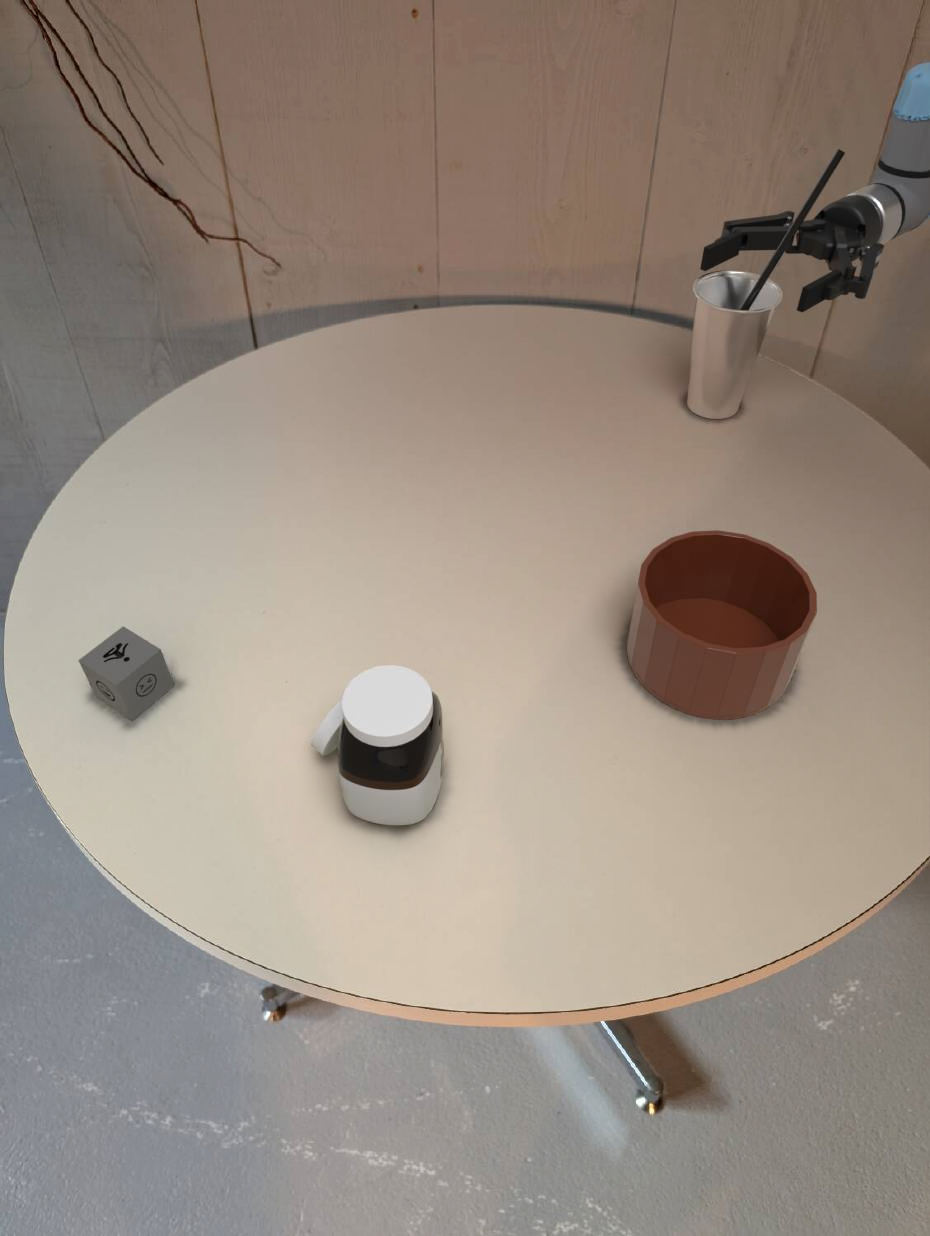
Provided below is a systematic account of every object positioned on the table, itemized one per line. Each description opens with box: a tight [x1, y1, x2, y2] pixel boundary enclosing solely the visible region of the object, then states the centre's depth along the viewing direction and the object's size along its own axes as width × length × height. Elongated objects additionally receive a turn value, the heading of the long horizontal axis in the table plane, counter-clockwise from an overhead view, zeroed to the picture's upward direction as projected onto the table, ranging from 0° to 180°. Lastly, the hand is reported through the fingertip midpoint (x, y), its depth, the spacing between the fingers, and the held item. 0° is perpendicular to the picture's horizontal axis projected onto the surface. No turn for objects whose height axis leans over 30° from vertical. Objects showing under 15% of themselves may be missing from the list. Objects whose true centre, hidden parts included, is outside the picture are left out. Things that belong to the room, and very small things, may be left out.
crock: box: [626, 529, 818, 720], centre depth 83 cm, size 15×15×9 cm
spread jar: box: [310, 664, 445, 827], centre depth 73 cm, size 12×11×12 cm
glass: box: [686, 148, 846, 420], centre depth 104 cm, size 11×11×30 cm
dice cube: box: [78, 625, 175, 722], centre depth 82 cm, size 5×5×5 cm
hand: (751, 278), depth 104 cm, fingers open, 13 cm apart
